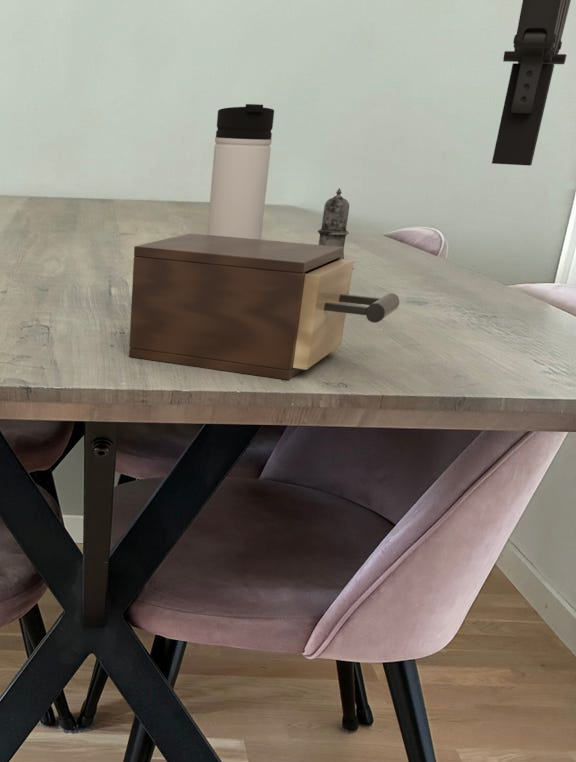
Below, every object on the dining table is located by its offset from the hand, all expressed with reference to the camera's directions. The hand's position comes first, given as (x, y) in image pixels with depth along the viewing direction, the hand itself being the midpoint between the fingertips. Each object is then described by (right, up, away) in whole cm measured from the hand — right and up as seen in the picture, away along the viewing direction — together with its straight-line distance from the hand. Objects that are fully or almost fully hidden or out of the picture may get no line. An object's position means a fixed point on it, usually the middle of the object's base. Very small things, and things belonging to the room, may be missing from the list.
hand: (511, 163), depth 72 cm
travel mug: (-16, +5, +42) cm, 45 cm away
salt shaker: (-4, +5, +43) cm, 43 cm away
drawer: (-16, -10, +12) cm, 22 cm away
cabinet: (-19, -10, +14) cm, 26 cm away
